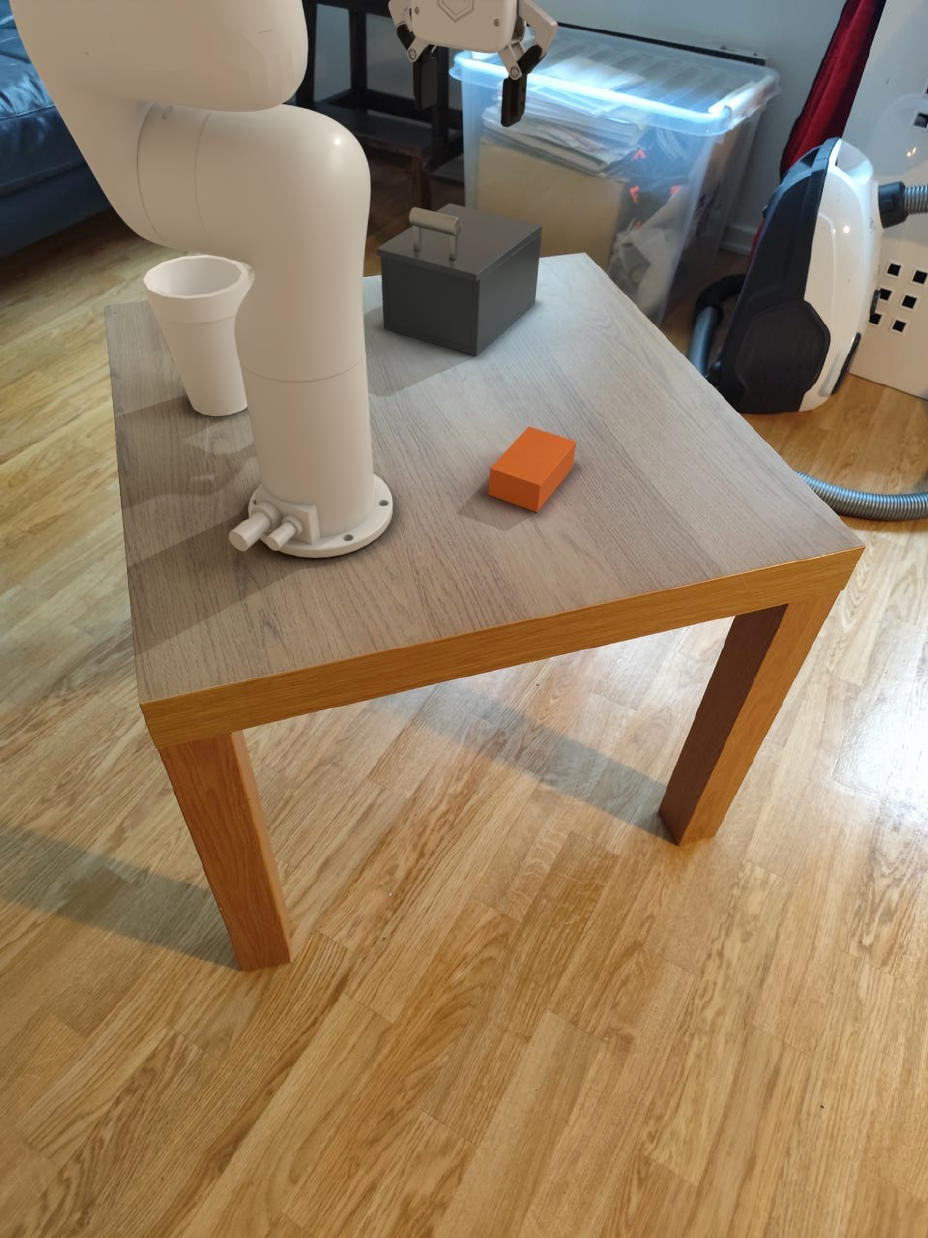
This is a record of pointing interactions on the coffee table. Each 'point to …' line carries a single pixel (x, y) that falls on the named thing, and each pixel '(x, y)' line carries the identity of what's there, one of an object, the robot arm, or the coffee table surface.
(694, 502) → the coffee table surface
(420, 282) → the bin
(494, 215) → the lid
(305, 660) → the coffee table surface
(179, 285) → the foam cup
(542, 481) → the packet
